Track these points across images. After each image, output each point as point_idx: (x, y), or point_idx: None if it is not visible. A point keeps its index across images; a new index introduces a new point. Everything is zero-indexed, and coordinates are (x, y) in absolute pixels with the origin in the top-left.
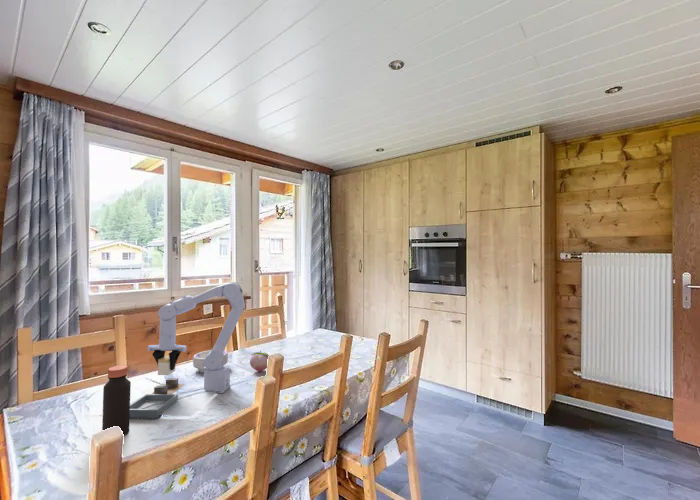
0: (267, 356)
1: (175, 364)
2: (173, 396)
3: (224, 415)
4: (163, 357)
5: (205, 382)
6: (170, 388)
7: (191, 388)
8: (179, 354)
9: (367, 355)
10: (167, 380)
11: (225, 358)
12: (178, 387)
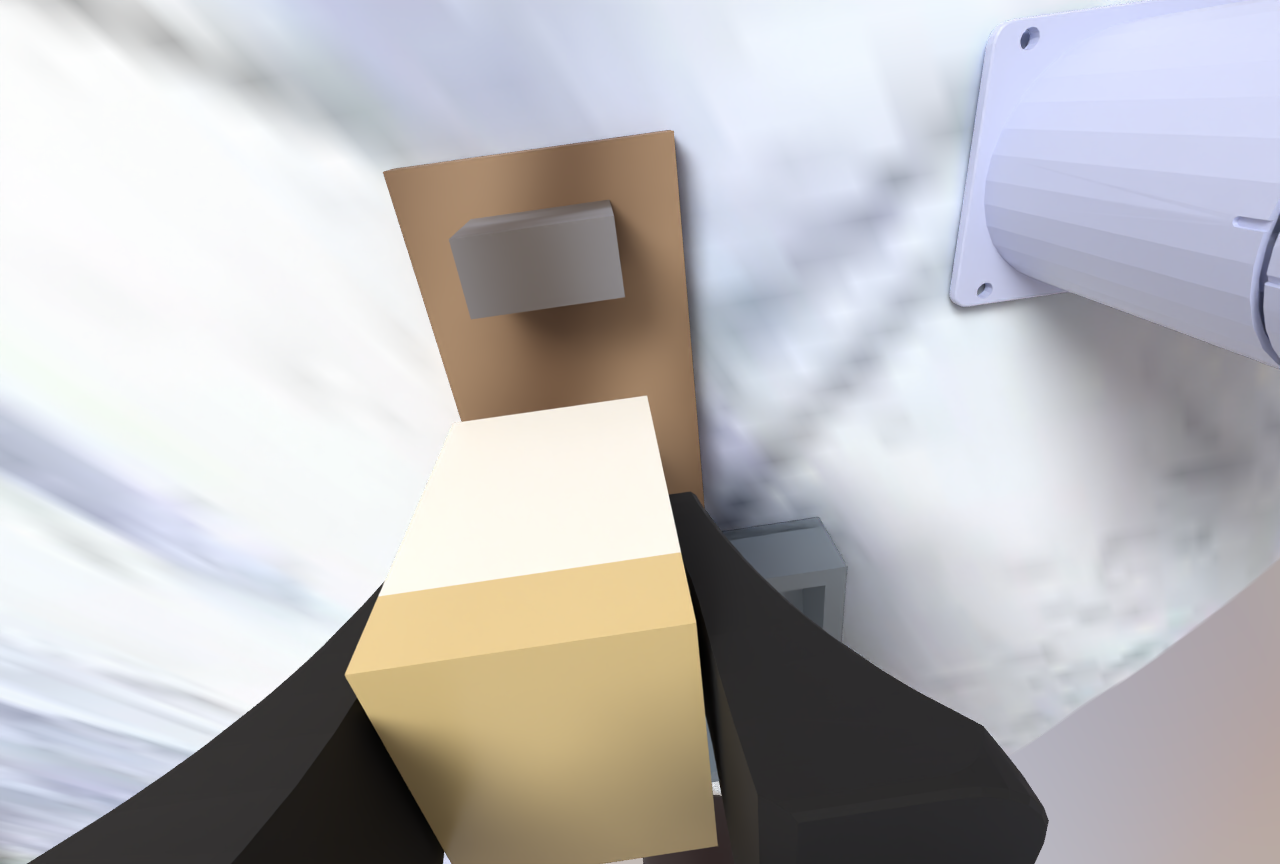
0: None
1: (719, 533)
2: (830, 603)
3: (1220, 600)
4: (449, 783)
5: (1093, 297)
6: (575, 308)
7: (789, 172)
8: (896, 698)
9: None
10: (497, 312)
11: None
12: (655, 260)
